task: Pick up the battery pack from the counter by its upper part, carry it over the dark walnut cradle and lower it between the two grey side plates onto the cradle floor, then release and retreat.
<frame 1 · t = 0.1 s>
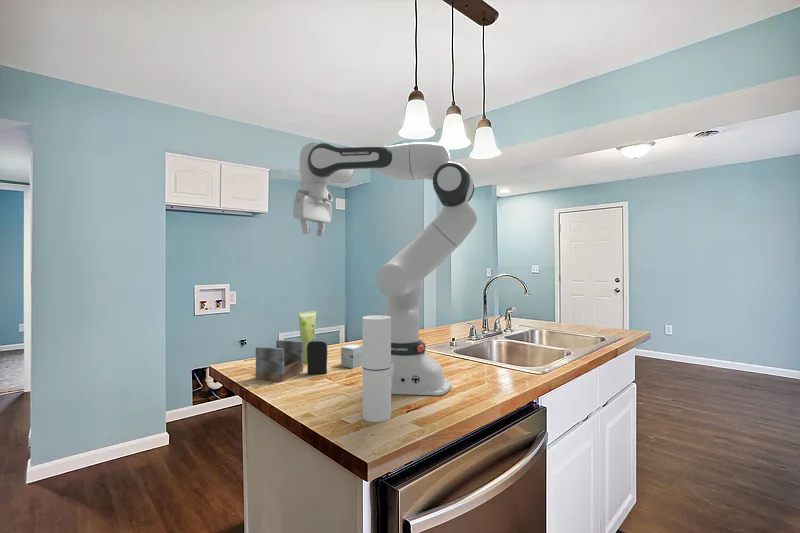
hand: (313, 234, 133), 48 cm above the table, tool pointing down, fingers open, 8 cm apart
tube: (307, 362, 154), on the table
cylindrical container: (376, 417, 100), on the table
skincare box: (352, 366, 148), on the table
battery: (317, 373, 139), on the table
cradle: (280, 374, 136), on the table
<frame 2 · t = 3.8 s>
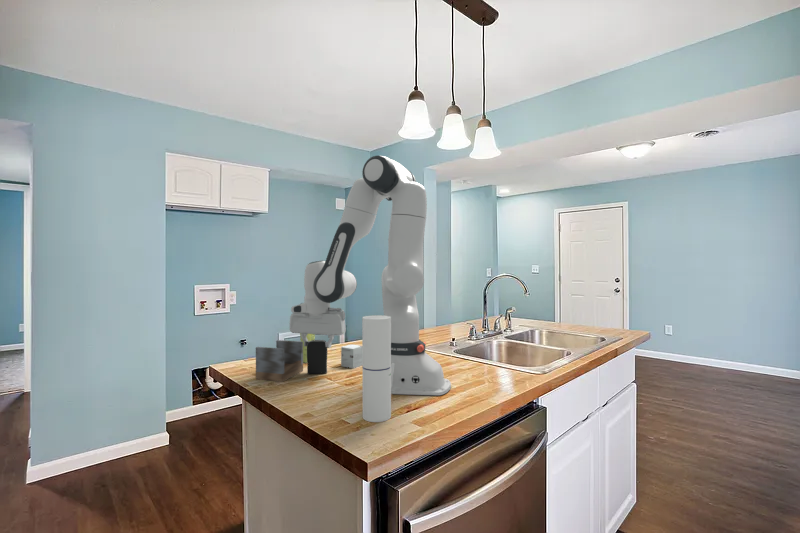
hand: (317, 346, 139), 9 cm above the table, tool pointing down, fingers closed on battery, 7 cm apart
battery: (317, 373, 139), on the table, touching gripper
everything else where it was.
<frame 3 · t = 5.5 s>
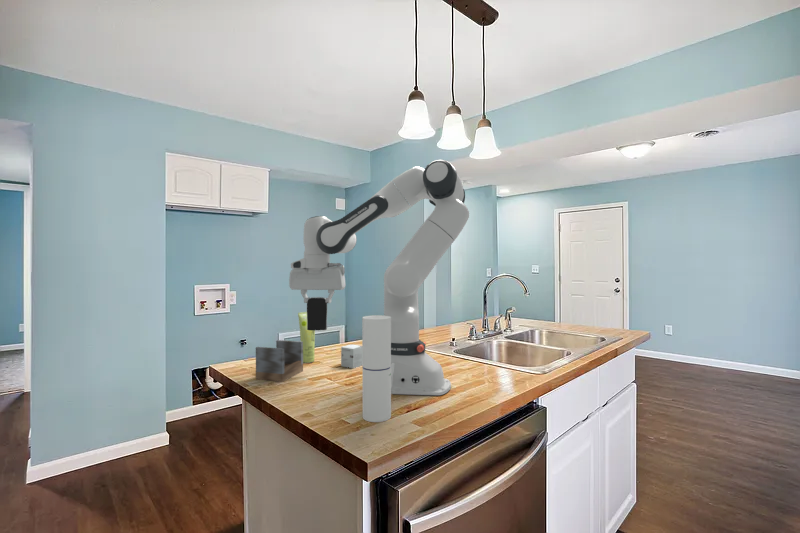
hand: (317, 302, 139), 24 cm above the table, tool pointing down, fingers closed on battery, 7 cm apart
battery: (317, 330, 139), point 15 cm above the table, touching gripper
everything else where it was.
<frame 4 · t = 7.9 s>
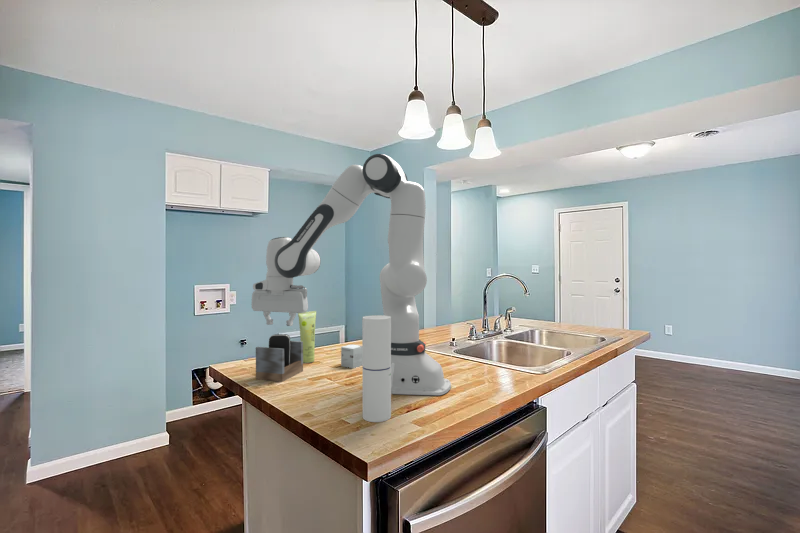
hand: (279, 325, 136), 17 cm above the table, tool pointing down, fingers open, 6 cm apart
battery: (280, 368, 137), point 2 cm above the table, touching cradle
everything else where it was.
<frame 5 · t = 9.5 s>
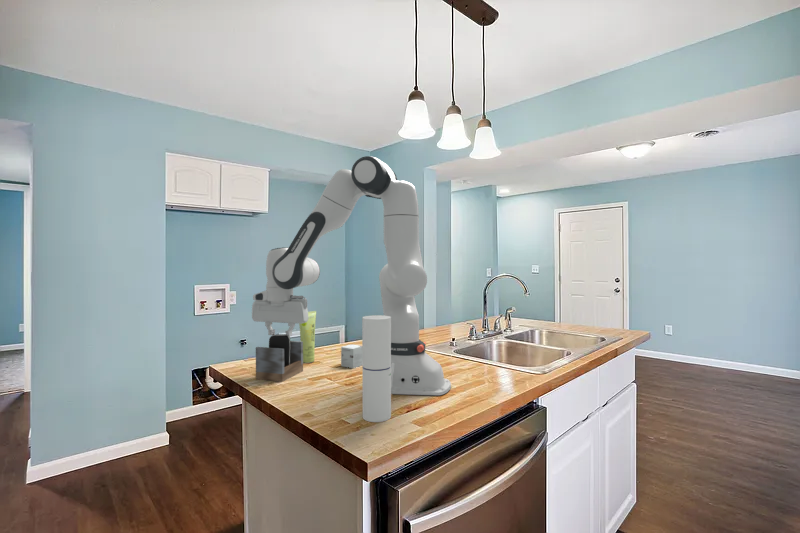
hand: (280, 335, 136), 14 cm above the table, tool pointing down, fingers open, 5 cm apart
nothing on the table moved.
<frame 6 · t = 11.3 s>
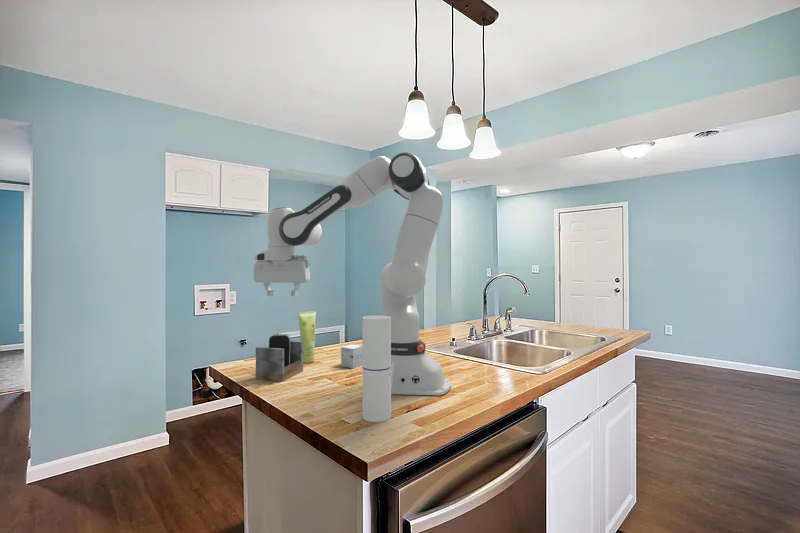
hand: (282, 295, 136), 27 cm above the table, tool pointing down, fingers open, 8 cm apart
nothing on the table moved.
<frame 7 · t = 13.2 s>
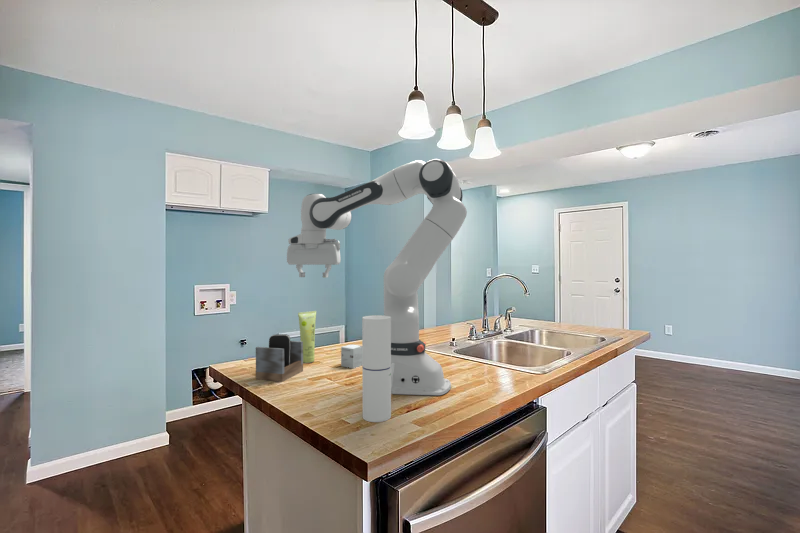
hand: (313, 277, 144), 33 cm above the table, tool pointing down, fingers open, 8 cm apart
nothing on the table moved.
at the end: battery inside the target area on the cradle (0.1 cm from its centre), point 2.3 cm above the cradle's base; battery tilted 0°; the gripper is holding nothing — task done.
